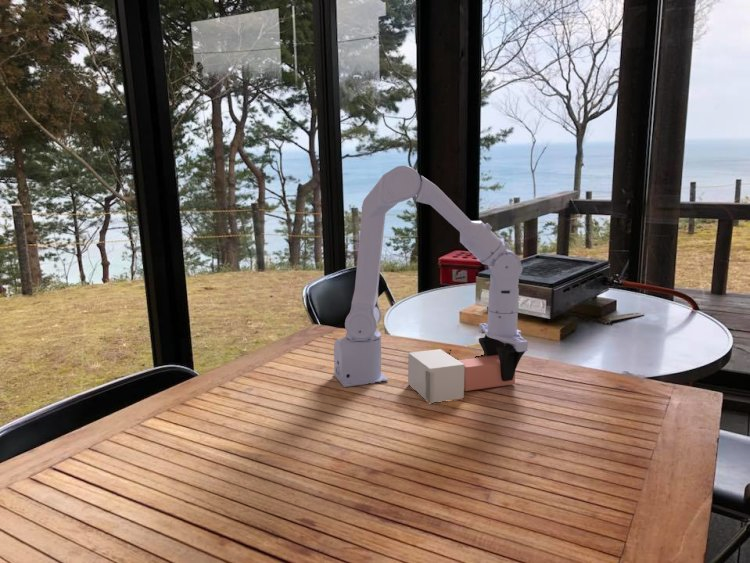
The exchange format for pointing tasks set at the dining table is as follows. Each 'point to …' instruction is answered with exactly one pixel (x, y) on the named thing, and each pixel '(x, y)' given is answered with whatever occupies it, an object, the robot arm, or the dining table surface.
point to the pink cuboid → (483, 373)
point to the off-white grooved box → (436, 375)
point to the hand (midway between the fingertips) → (500, 376)
